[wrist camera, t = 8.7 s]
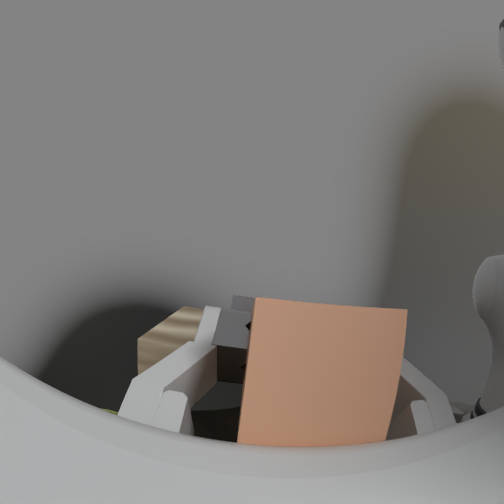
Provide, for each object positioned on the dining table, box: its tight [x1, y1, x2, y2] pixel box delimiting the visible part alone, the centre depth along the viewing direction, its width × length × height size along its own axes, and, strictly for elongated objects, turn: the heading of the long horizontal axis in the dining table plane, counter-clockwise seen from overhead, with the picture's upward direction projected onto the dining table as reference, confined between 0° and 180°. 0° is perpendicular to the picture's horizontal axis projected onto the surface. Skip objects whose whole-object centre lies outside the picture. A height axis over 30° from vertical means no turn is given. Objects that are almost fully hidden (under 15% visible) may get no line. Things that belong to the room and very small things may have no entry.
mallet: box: [231, 295, 407, 447], centre depth 15 cm, size 22×6×4 cm, turn 179°
